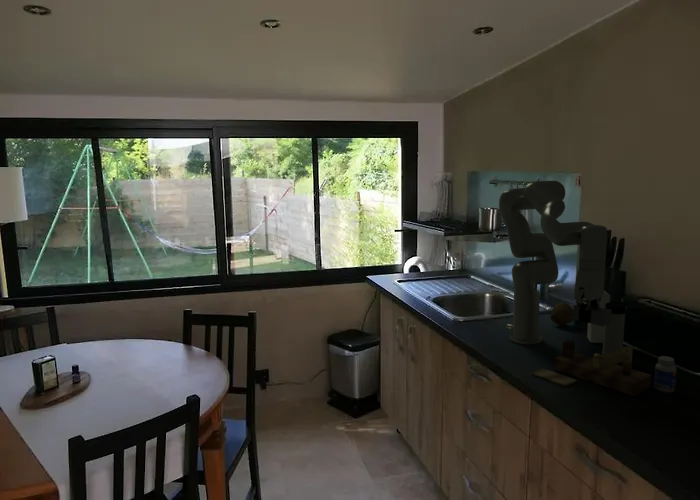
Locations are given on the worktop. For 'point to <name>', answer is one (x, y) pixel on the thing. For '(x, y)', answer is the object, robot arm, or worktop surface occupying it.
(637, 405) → the worktop surface
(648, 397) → the worktop surface
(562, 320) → the natural sponge
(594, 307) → the black rectangular block
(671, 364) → the pill bottle
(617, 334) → the travel mug
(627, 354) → the lever
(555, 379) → the cork pad
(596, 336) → the milk
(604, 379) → the plane body
